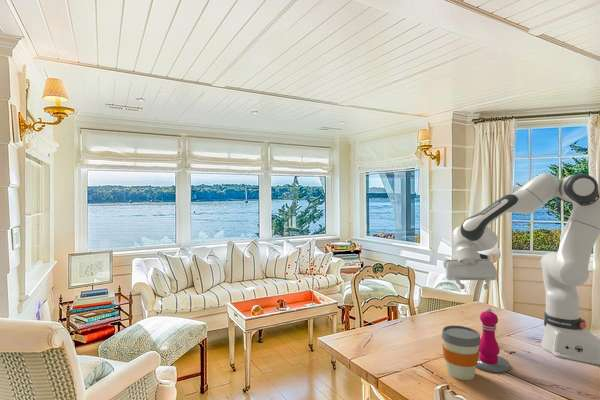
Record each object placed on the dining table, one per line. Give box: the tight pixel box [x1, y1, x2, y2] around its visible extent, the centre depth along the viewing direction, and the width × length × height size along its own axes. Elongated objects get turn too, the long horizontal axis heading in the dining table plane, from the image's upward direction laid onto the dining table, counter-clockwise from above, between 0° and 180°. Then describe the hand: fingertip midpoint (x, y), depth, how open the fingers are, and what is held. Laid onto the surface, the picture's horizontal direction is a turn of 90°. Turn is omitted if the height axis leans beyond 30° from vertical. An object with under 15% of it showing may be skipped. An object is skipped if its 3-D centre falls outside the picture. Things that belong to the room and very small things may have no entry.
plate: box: [476, 352, 511, 374], centre depth 133 cm, size 14×14×1 cm
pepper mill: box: [479, 307, 500, 364], centre depth 133 cm, size 7×7×20 cm
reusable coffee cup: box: [441, 324, 481, 381], centre depth 126 cm, size 13×13×15 cm
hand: (474, 288), depth 148 cm, fingers open, 8 cm apart
